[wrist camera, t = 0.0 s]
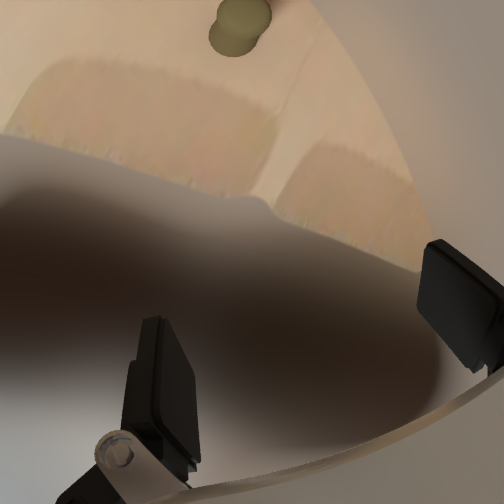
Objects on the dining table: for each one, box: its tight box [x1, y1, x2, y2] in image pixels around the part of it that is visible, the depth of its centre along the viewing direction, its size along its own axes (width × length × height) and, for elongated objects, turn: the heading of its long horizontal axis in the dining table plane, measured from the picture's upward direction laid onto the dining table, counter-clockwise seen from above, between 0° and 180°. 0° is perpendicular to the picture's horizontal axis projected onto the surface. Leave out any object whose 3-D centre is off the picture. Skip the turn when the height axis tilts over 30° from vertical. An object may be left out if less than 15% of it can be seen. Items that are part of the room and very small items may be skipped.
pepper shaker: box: [209, 0, 272, 57], centre depth 25 cm, size 6×6×11 cm
